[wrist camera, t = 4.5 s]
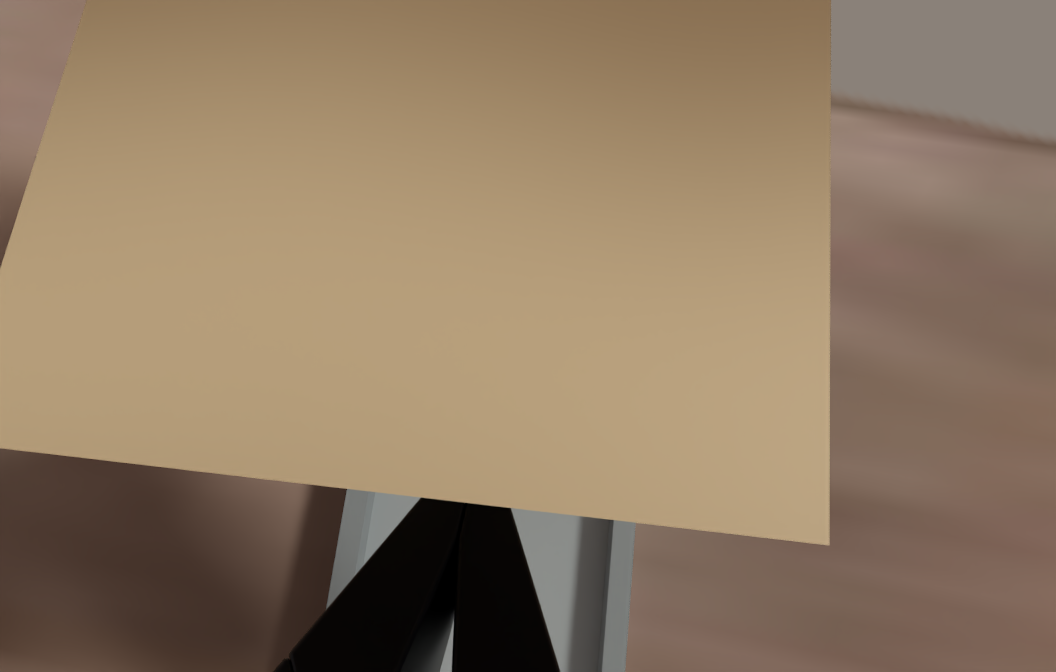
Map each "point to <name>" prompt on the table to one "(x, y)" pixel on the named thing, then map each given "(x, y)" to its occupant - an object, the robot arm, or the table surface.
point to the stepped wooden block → (440, 253)
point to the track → (556, 568)
